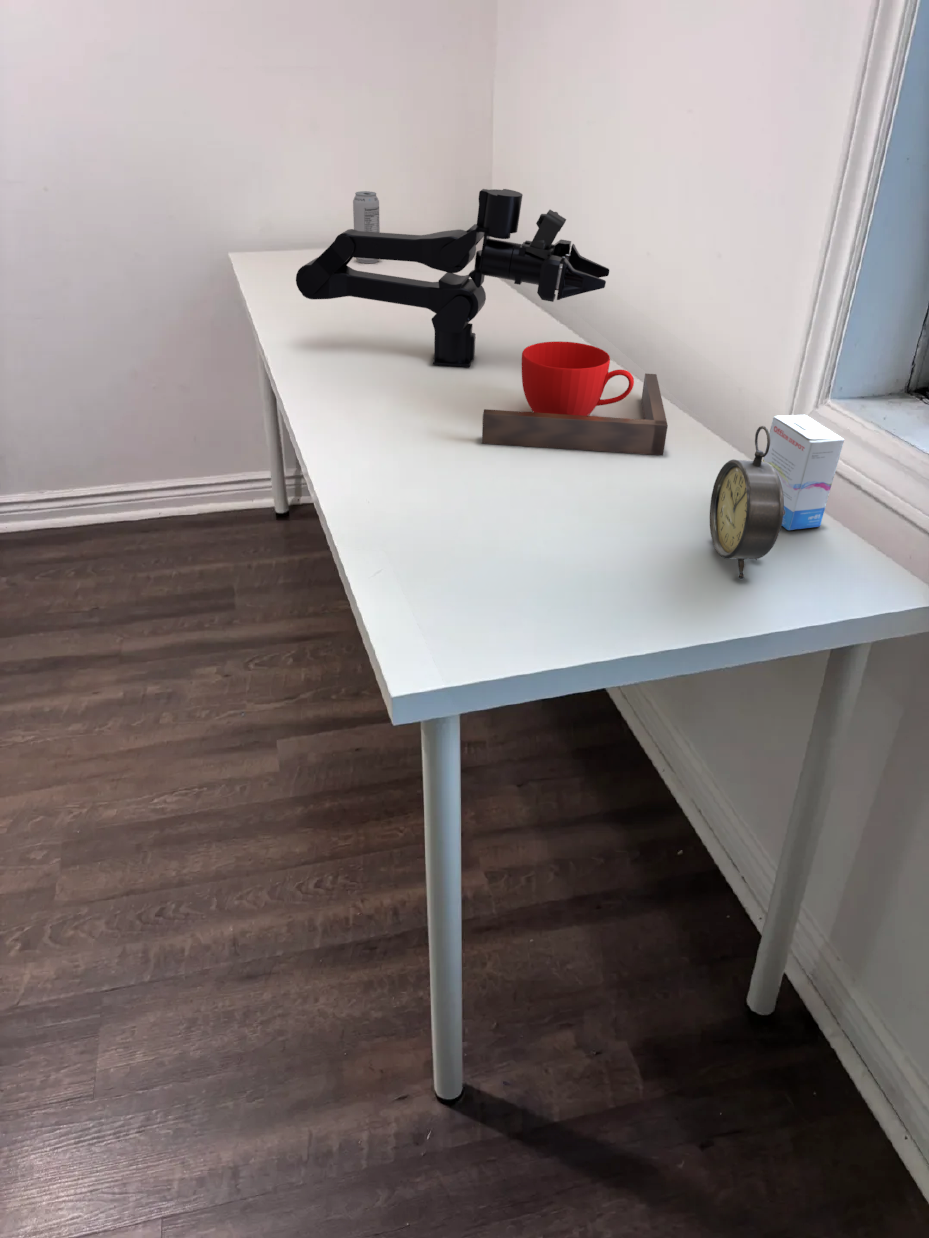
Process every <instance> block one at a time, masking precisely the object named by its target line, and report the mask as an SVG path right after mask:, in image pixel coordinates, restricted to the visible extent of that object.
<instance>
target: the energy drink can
mask: <svg viewBox="0 0 929 1238" xmlns="http://www.w3.org/2000/svg"><path fill="white" fill-rule="evenodd" d="M354 194H355V195H354V198H353V200H352V212H353V215H352V216H353V229H354V230H357V231H365V232H379V233H381V231H380V229H381V227H380V225H381V224H380V223H381V222H380V200H379V198H378V196H377V192H375V191H370V190H369V191H367V190H362V191H355V192H354ZM354 258H355V259H356V261H357V262H358V263H360V264H375V263H378V262H379V259H370V258H356V257H354Z"/></svg>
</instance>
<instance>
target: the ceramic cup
mask: <svg viewBox="0 0 929 1238" xmlns="http://www.w3.org/2000/svg"><path fill="white" fill-rule="evenodd" d="M610 364H611V356H610V354H609V353H608V352H607V351H605V350H603V349H602V348H600V347H597V346H594V345H590V344H586V343H580V342H574V341H545V342H543V341H542V342H538V343H534V344H531V345H528V346H526V347H525V348H523V350H522V352H521V382H522V391H523V393H524V394H523V395H524V397H525V400H526V402H527V404H528V406H529V408H530V409H531V411H532V412H535V413H551V414H566V415H582V416H590V414H592V412H593V411H594V410H595V409H596V407H601V406H606V405H611V404H616V403H619V402H620V401H622V400H624V399H626V398H627V397H628V396H629V395H630V393H631V392H632V390H633V388H634V384H635V380H634V379H635V378H634V377H633V375H632V374H631V372H630V371H628V370H627V369H613V370H612V371H609V369H610ZM616 376H622V377H625V378H626V379H627V381H628V386H627V388H626V389H625V390H624V391H623V392H622V393H621V394H619V395H617V396H613V397H610V398H604V399H603V398H602V396H603V393H604V390H605V387H606V385H607V383H608V382H609V380H611V379H612V378H614V377H616ZM601 398H602V399H601Z"/></svg>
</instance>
